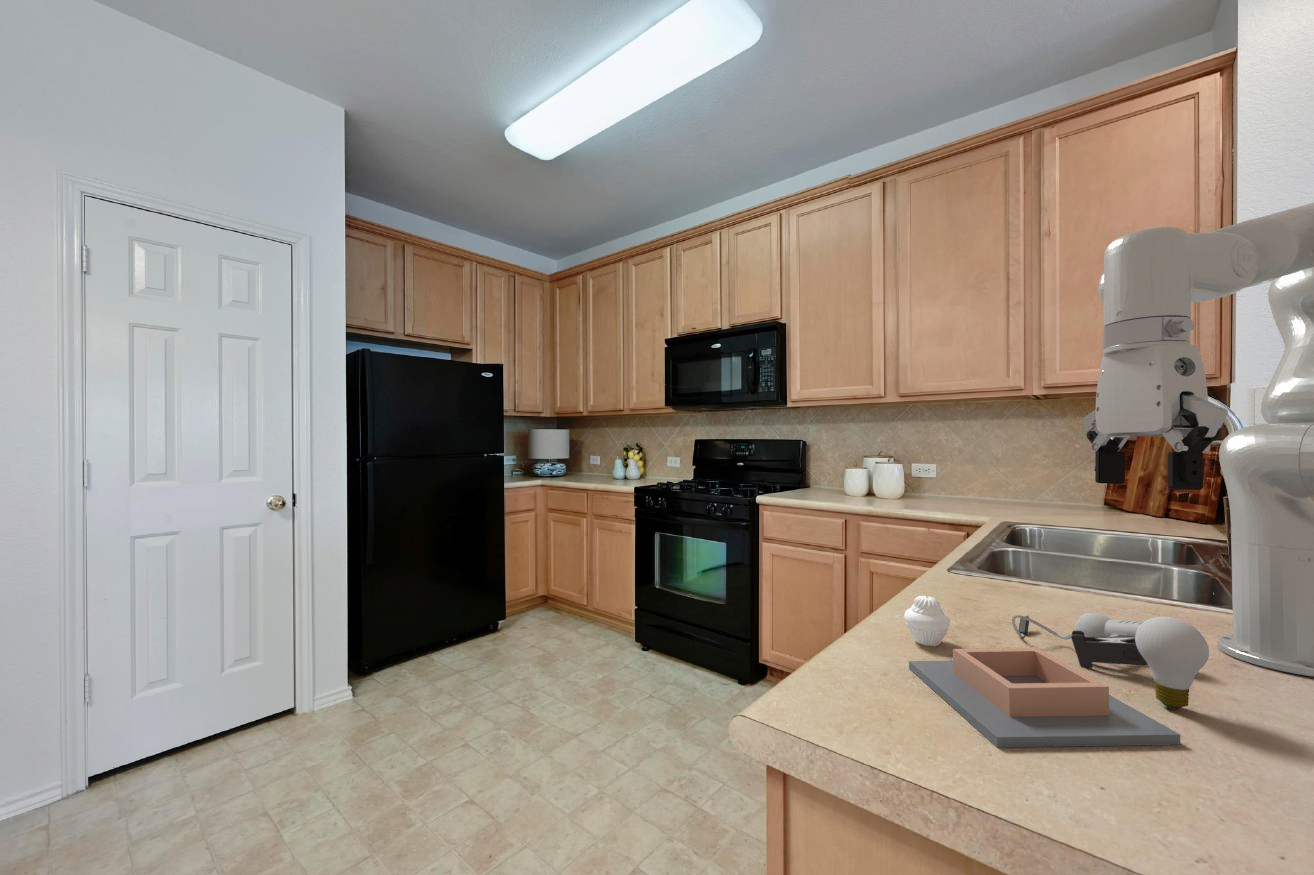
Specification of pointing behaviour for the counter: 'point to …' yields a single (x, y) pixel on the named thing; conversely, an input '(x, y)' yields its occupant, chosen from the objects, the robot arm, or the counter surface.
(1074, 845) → the counter surface
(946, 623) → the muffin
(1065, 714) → the holder board
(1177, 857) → the counter surface
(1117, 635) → the clip-on lamp
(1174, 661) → the light bulb
